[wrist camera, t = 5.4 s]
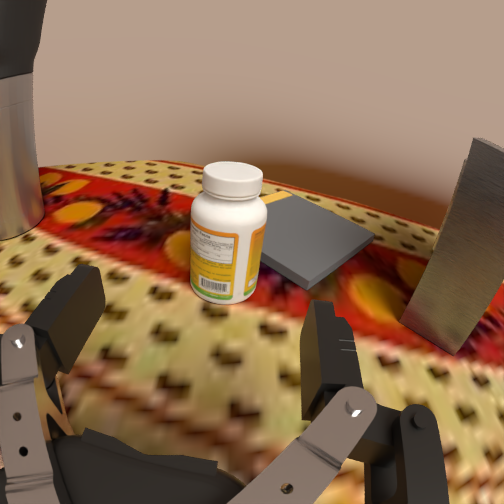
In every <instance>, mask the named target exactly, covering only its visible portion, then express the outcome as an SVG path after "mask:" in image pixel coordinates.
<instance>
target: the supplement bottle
mask: <svg viewBox="0 0 504 504" xmlns="http://www.w3.org/2000/svg"><path fill="white" fill-rule="evenodd" d="M262 179H263V173H262V171H261V170H260V169H258V168H257V167H254V166H252V165H248V164H245V163H239V162H216V163H211V164H209V165H207V166H205V168H204V170H203V179H202V188H203V190H204V192H202V193H200V194H199V195H198V196H197V197H196V198H195V199H194V201H193V203H192V206H191V245H190V280H191V286H192V288H193V290H194V291H195V293H196V294H197V295H198V296H200V297H201V298H203V299H205V300H207V301H209V302H212V303H216V304H223V305H229V304H235V303H239V302H241V301H243V300H245V299H247V298H248V297H249V296H251V294H252V293H253V292H254V290H255V287H256V283H257V277H258V271H259V264H260V258H261V252H262V246H263V239H264V233H265V227H266V220H267V208H266V205H265V203H264V202H263V201H262V200H261V199H260V198H259V197H258V196H259V194H260V192H261V188H262Z"/></svg>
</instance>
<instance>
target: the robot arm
mask: <svg viewBox="0 0 504 504" xmlns="http://www.w3.org/2000/svg"><path fill="white" fill-rule="evenodd" d="M46 3H47V0H0V240H4V239H8V238H12V237H15V236H17V235H20V234H22V233H24V232H26V231H28V230H30V229H31V228H33V227H34V226H35V225H37V224H38V223H39V222H40V221H41V219H42V218H43V216H44V205H43V200H42V194H41V187H40V180H39V172H38V164H37V157H36V146H35V133H34V117H33V73H32V72H33V63H34V58H35V56H36V53H37V50H38V47H39V43H40V37H41V30H42V24H43V18H44V13H45V8H46ZM104 308H105V294H104V289H103V285H102V280H101V275H100V270H99V268H98V267H94V266H89V265H84V264H79V265H78V266H77V267H76V268H75V270H74V271H73V272H72V273H71V274H70V275H68V274H67V275H66V276H64V277H63V278H61V279H60V280H58V281H57V282H56V283H55V285H54V286H53V287H52V288H51V290H50V292H48V293H47V295H46V296H45V299H43V300H42V301H41V302H40V304H39V305H38V306H37V308H36V309H35V310H34V312H33V313H32V314H31V316H30V317H29V318H28V320H27V321H26V322H25V324H16V325H14V326H12V327H10V328H9V329H7V330H6V332H5V333H4V334H0V445H1V451H2V457H3V462H4V467H3V468H2V469H0V504H313V503H314V502H315V501H316V499H317V498H318V497H319V496H320V495H321V494H322V492H323V491H324V490H325V489H326V487H327V486H328V485H329V484H330V482H331V481H332V480H333V479H334V477H335V476H336V475H337V473H338V472H339V470H340V469H341V465H342V464H343V462H344V461H345V459H346V458H349V459H353V460H356V461H360V462H364V478H365V504H449V495H448V486H447V478H446V471H445V464H444V458H443V452H442V446H441V440H440V435H439V430H438V425H437V420H436V418H435V415H434V414H433V413H432V411H431V410H429V409H428V408H427V407H425V406H423V405H419V404H413V405H409V406H407V407H406V408H405V409H404V410H403V411H398V410H395V409H391V408H388V407H384V406H381V405H379V404H377V403H376V401H375V399H374V398H373V396H372V395H371V394H370V393H369V392H368V391H366V390H364V388H363V383H362V378H361V372H360V367H359V361H358V356H357V352H356V346H355V342H354V336H353V332H352V328H351V326H350V325H349V324H348V322H347V321H346V319H345V318H344V317H335V311H334V306H333V303H332V302H328V301H319V300H311V302H310V305H309V308H308V311H307V315H306V318H305V321H304V324H303V327H302V331H301V336H300V366H301V406H302V420H309V421H311V424H310V425H309V427H308V428H307V429H306V430H305V431H304V432H303V433H302V434H301V435H300V436H299V437H297V438H296V439H295V440H293V441H292V442H291V443H290V444H289V445H288V446H287V447H286V449H285V450H284V451H283V452H282V453H281V454H280V455H279V456H278V457H277V458H276V459H275V460H274V461H273V462H272V463H271V464H270V465H269V466H268V467H267V468H266V469H264V470H263V471H262V472H261V473H260V474H259V475H258V476H257V477H256V478H255V479H254V480H253V481H252V482H251V483H250V484H248V485H247V486H246V485H245V484H244V483H243V482H241V481H240V480H239V479H237V478H236V477H234V476H233V475H231V474H229V473H227V472H225V471H223V470H220V469H218V468H217V464H218V461H212V460H206V459H200V458H194V457H189V456H184V455H145V454H143V453H141V452H139V451H137V450H135V449H133V448H132V447H130V446H128V445H126V444H125V443H123V442H121V441H119V440H118V439H116V438H114V437H111V436H108V435H105V434H102V433H99V432H96V431H94V430H91V429H88V428H85V430H84V432H83V435H75V434H74V432H73V430H72V428H71V426H70V424H69V421H68V418H67V415H66V411H65V407H64V403H63V399H62V394H61V390H60V385H59V380H58V378H57V376H56V374H57V372H58V371H60V372H63V373H66V374H69V372H70V370H71V369H72V367H73V365H74V363H75V361H76V359H77V357H78V355H79V354H80V352H81V350H82V348H83V346H84V345H85V343H86V341H87V339H88V337H89V336H90V334H91V332H92V330H93V329H94V327H95V325H96V324H97V322H98V320H99V318H100V317H101V315H102V313H103V311H104Z"/></svg>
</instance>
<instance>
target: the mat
mask: <svg viewBox="0 0 504 504" xmlns="http://www.w3.org/2000/svg"><path fill="white" fill-rule="evenodd" d="M260 199H261V200H262V201H263V202H264V203H265V205H266V208H267V220H266V227H265V233H264V239H263V246H262V252H261V258H260V261H262V262H263V263H265V264H266V265H268V266H269V267H271V268H272V269H274V270H276V271H277V272H279V273H280V274H282V275H283V276H285V277H286V278H288V279H290V280H291V281H293V282H294V283H296V284H297V285H299V286H301V287H302V288H304V289H305V290H308V289H309V288H311V287H312V286H313V285H315V284H316V283H318V282H319V281H320V280H322V279H323V278H324V277H326V276H327V275H328V274H330V273H331V272H333V271H334V270H335V269H337V268H338V267H339V266H341V265H342V264H343V263H345V262H346V261H347V260H349V259H350V258H351V257H353V256H354V255H355V254H357V253H358V252H359V251H360V250H362V249H363V248H364V247H366V246H367V245H368V244H370V243H371V242H372V241H373V239H374V236H375V234H374V233H372V232H370V231H368V230H367V229H365V228H363V227H361V226H359V225H357V224H355V223H353V222H351V221H349V220H347V219H345V218H343V217H341V216H339V215H337V214H334V213H332V212H330V211H328V210H326V209H324V208H322V207H320V206H318V205H316V204H314V203H311V202H309V201H307V200H305V199H303V198H301V197H299V196H296V195H294V194H292V193H290V192H288V191H285V190H283V191H280V192H276V193H273V194H270V195H266V196H263V197H260Z"/></svg>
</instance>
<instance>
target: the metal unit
mask: <svg viewBox="0 0 504 504" xmlns="http://www.w3.org/2000/svg"><path fill="white" fill-rule="evenodd" d="M432 249H433V250H434V251H433V254H432V256H431V258H430V260H429V263H428V265H427V267H426V269H425V271H424V273H423V275H422V278H421V280H420V282H419V284H418V286H417V288H416V290H415V292H414V294H413V296H412V298H411V300H410V302H409V304H408V305H407V307H406V309H405V311H404V313H403V315H402V317H401V318H400V320H399V322H400V323H402V324H403V325H405V326H406V327H408V328H410V329H411V330H413V331H414V332H416V333H418V334H419V335H421V336H422V337H424V338H426V339H427V340H429V341H430V342H432V343H434V344H435V345H437V346H438V347H440V348H442V349H443V350H445V351H446V352H448V353H450V354H451V355H453V356H454V355H455V354H456V352H457V351H458V350H459V348H460V347H461V346H462V344H463V343H464V341H465V340H466V339H467V337H468V336H469V334H470V333H471V331H472V330H473V329H474V327H475V326H476V324H477V323H478V321H479V320H480V318H481V316H482V315H483V313H484V312H485V310H486V309H487V307H488V305H489V304H490V302H491V301H492V299H493V297H494V295H495V294H496V292H497V290H498V289H499V287H500V285H501V283H502V282H503V280H504V148H501V147H500V146H498V145H496V144H494V143H491V142H490V141H487V140H485V139H483V138H473V141H472V145H471V148H470V152H469V155H468V158H466V159H465V160H464V163H463V166H462V170H461V172H460V176H459V179H458V182H457V185H456V188H455V191H454V194H453V196H452V199H451V202H450V205H449V208H448V210H447V213H446V216H445V218H444V221H443V223H442V226H441V228H440V231H439V233H438V236H437V238H436V241H435V243H434V245H433V248H432Z"/></svg>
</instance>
